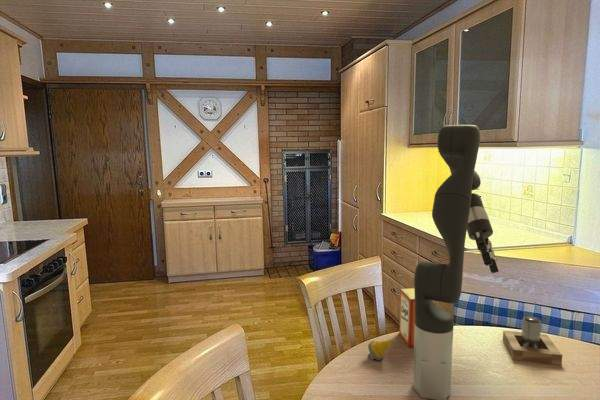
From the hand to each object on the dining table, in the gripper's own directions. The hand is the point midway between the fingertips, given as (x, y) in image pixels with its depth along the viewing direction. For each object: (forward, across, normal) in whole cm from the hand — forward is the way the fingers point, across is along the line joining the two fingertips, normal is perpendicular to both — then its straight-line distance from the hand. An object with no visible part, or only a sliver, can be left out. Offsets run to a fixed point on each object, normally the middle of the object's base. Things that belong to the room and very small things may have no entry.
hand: (492, 268), depth 122 cm
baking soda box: (+17, 0, +29) cm, 34 cm away
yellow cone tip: (+23, -15, +35) cm, 45 cm away
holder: (+23, +13, -1) cm, 27 cm away
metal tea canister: (+23, +13, -1) cm, 27 cm away
